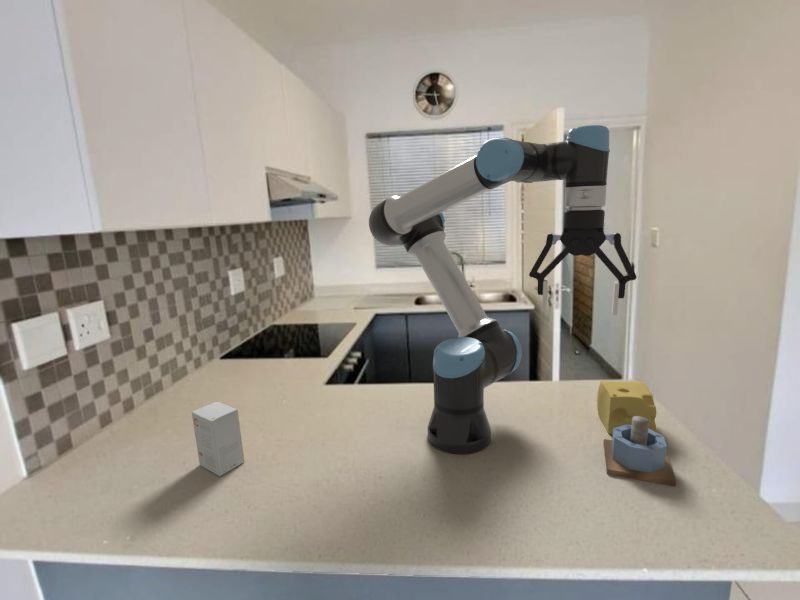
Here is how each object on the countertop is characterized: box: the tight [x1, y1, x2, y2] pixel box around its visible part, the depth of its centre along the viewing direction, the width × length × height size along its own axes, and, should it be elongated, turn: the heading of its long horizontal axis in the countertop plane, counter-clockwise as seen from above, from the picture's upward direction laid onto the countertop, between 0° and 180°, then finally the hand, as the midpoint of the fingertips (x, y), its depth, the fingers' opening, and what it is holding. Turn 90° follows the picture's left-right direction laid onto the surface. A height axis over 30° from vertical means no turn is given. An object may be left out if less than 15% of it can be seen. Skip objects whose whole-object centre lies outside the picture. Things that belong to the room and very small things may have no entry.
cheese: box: [596, 380, 657, 435], centre depth 103 cm, size 10×11×10 cm
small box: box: [191, 401, 245, 477], centre depth 93 cm, size 8×6×13 cm
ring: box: [611, 425, 668, 473], centre depth 89 cm, size 9×9×5 cm
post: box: [603, 416, 677, 487], centre depth 88 cm, size 12×12×10 cm
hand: (578, 311), depth 89 cm, fingers open, 13 cm apart
